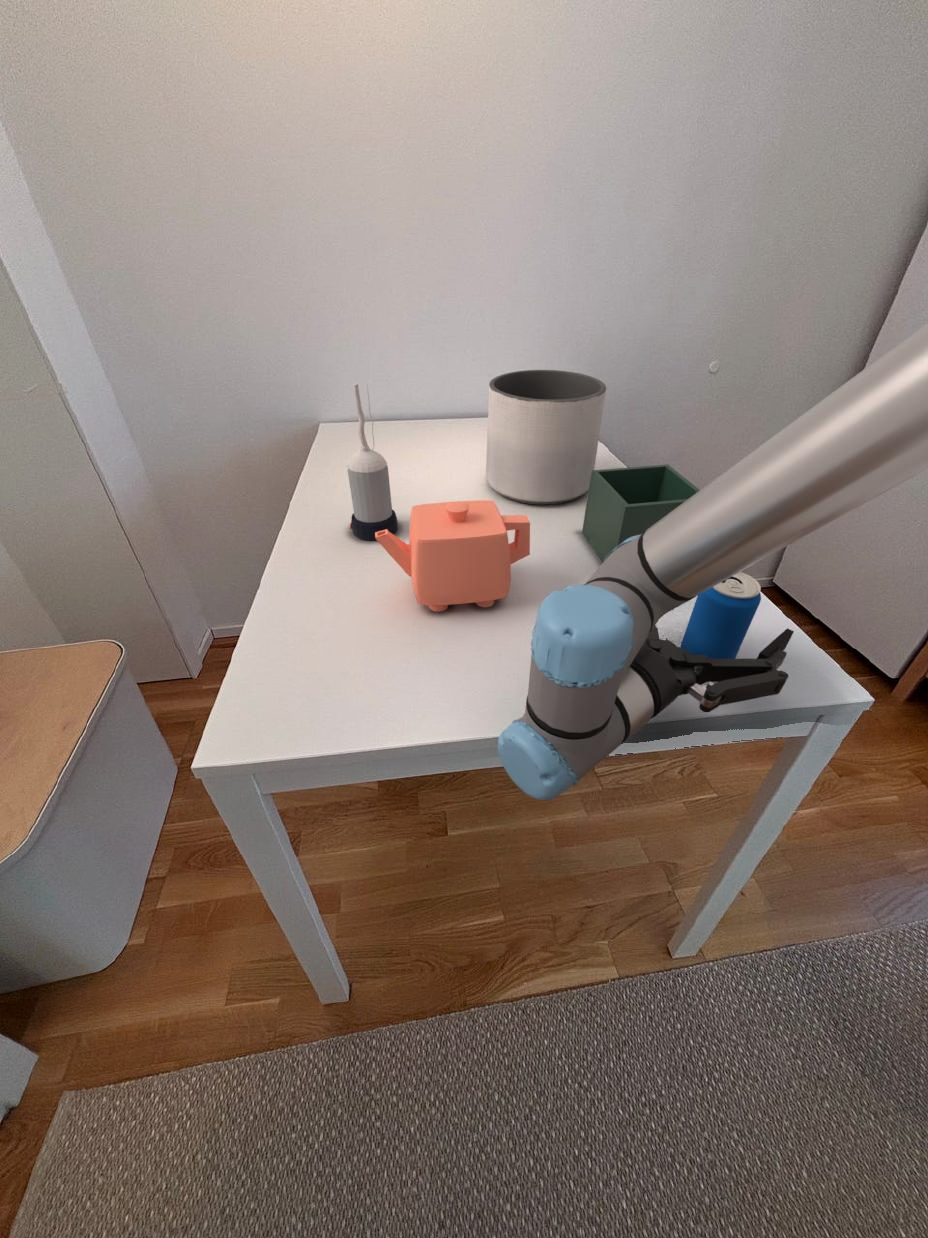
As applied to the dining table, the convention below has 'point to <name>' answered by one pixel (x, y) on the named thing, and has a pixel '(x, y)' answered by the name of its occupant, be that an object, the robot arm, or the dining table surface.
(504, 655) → the dining table surface
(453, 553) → the teapot
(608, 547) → the waste bin
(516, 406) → the planter
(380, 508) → the humidifier
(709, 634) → the beverage can
